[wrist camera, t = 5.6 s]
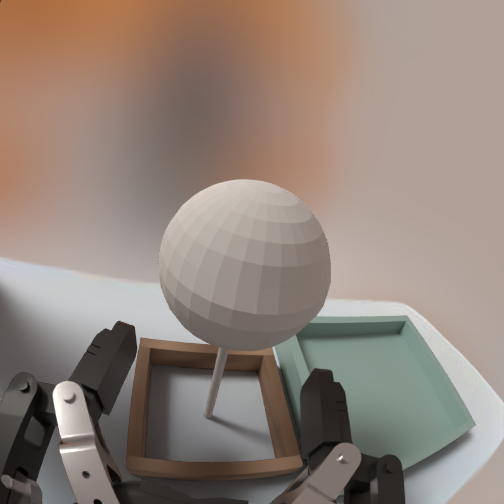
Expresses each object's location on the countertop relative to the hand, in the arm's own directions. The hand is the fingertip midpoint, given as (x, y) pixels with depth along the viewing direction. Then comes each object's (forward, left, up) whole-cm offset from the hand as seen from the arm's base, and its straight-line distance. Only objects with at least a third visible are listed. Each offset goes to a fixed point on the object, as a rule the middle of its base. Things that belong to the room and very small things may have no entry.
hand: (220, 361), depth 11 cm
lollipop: (+1, 0, -8) cm, 8 cm away
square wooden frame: (+1, 0, -8) cm, 8 cm away
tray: (+12, -8, -8) cm, 16 cm away
